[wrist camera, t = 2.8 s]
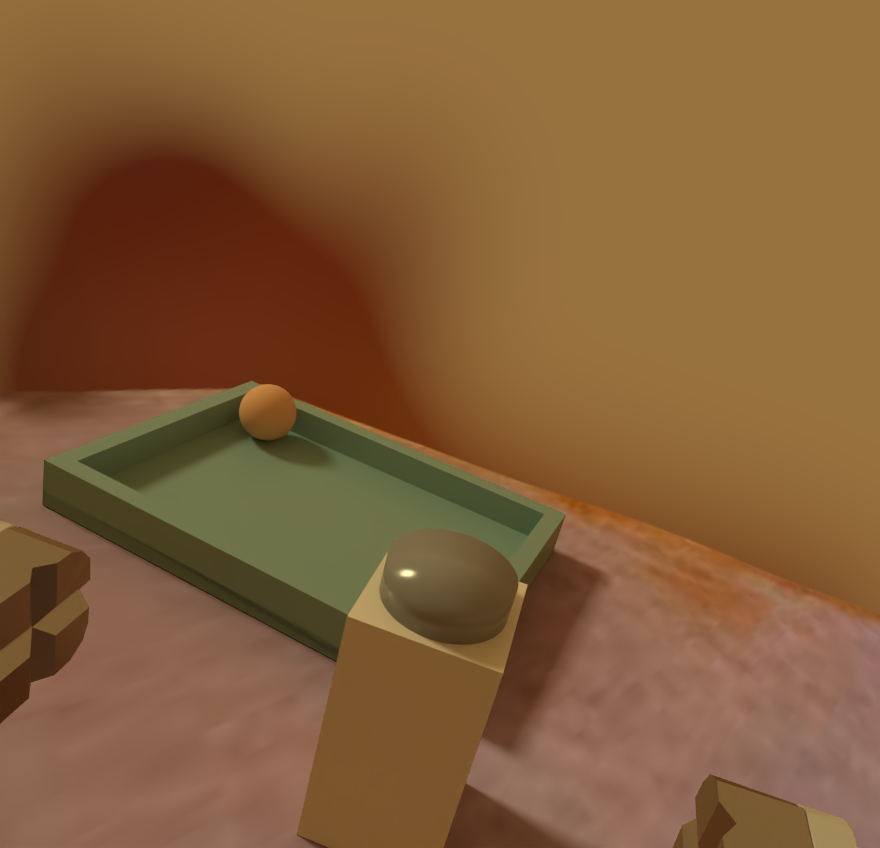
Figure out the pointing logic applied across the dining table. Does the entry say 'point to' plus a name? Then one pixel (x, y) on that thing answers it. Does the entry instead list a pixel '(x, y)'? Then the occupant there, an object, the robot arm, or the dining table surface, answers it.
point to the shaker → (412, 693)
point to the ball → (267, 412)
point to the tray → (282, 508)
